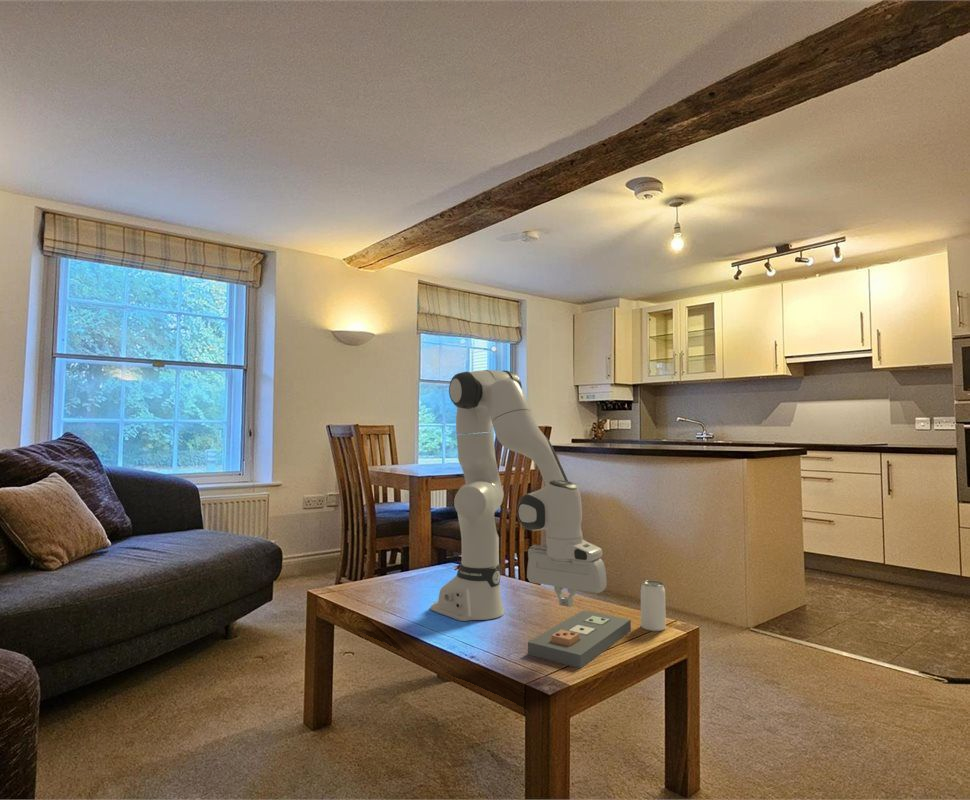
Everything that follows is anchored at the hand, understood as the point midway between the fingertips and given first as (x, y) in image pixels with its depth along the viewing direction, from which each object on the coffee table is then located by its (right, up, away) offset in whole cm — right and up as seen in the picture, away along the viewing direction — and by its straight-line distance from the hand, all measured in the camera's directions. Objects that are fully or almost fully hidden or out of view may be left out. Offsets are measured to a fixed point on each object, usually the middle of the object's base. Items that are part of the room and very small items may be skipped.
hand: (566, 605), depth 143 cm
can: (+26, -13, +18) cm, 34 cm away
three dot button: (0, -10, 0) cm, 10 cm away
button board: (+5, -12, +7) cm, 15 cm away
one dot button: (+5, -12, +7) cm, 14 cm away
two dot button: (+10, -12, +14) cm, 21 cm away
